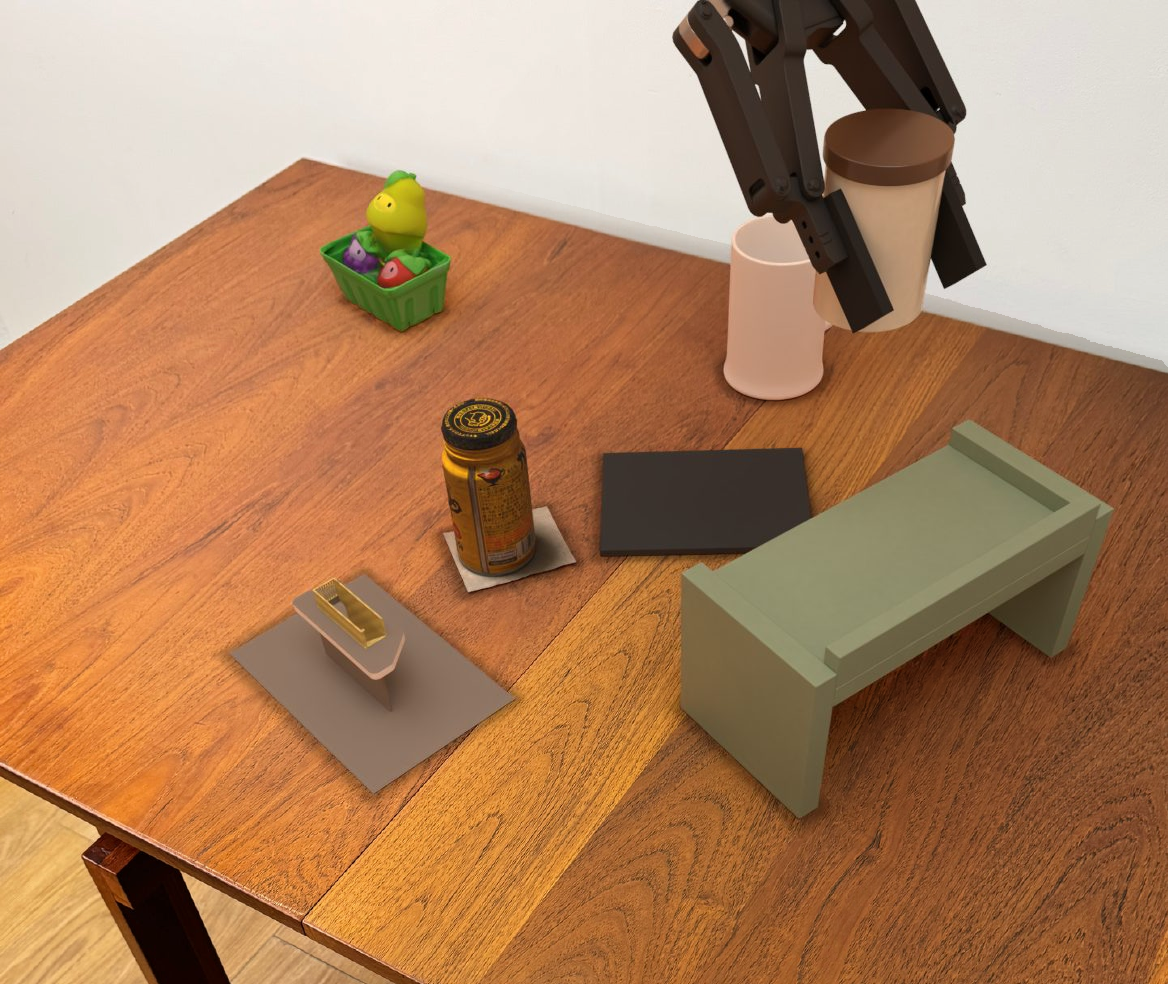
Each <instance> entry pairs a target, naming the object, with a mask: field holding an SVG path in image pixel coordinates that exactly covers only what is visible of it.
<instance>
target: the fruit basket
mask: <svg viewBox="0 0 1168 984" xmlns="http://www.w3.org/2000/svg"><path fill="white" fill-rule="evenodd" d="M416 179H417V175H416V174H415V173H413V172H409V173H407V172H406V171H405V170H402V169H398V170H394V171H393V172H391V173H390V174H389V176H388V177H387V179H386V181H385V183H384V185H383V190H381V191H380V192H379V193H378V194H377V195H375V196H374V197H373V199H372V200H371V201H370V203H369V205H368V206H367V208H366V212H365V217H366V220H367V222H368V224H369V225H367V226H365V227H362V228H360V229H357V230H354V231H353V232H350V233H348V234H345V235H343V236H341V237H339V238H337V239H335V240H331V241H330V242H328V243H327V244H325V245H323V246H321V247H320V248H319V250H318V251H319V254H320V256H321V257H322V259H323V261H324V262H325V263H326V264H327V266H328V267H329V270H330V271H331V273H332V275H333V277H334V279H335V281H336V283H337V285H338V286H339V288H340V290H341V293H342V294H343V296H344V299H345V300H347V301H348V302H350V303H352V304H353V305H357V306H358V307H359V308H360V309H362V310H363V311H364V312H367V313H368V314H371V315H374V317H375V318H377V319H379V320H380V321H382V322H383V323H386V324H389V325H390V326H391V327H392V328H393V329H395V330H396V331H398V332H400V333H401V332H404V331H406V330H407V329H408V328H409V327H412V326H415V325H418V324H420V323H421V322H424V321H425V320H428V319H430V318H431V317H432V316H433V315H434V314H438V313H441V312H443V310H444V305H445V296H446V288H447V280H448V272H449V271H450V266H451V261H452V257H451V255H449V254H447V253H445V252H443V251H441V250H439V249H437V248H436V247H434V246H432V245H431V244H428V243H427V242H426V241H424V239H425V237H426V234H427V230H428V215H427V211H426V193H425V190H424V188H423V187H422V186H421V184H420V183H419V182H418V181H417V180H416Z"/></svg>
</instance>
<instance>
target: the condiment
mask: <svg viewBox="0 0 1168 984" xmlns="http://www.w3.org/2000/svg"><path fill="white" fill-rule="evenodd" d="M440 432H441V434H442V439H443V441H442V443H443V450H442V453H441V463H442V464H441V468H442V471H443V477H444V483H445V488H446V489H445V490H446V494H447V499H448V500H447V502H448V503H447V504H448V506H449V511H450V517H451V523H452V525H451V526H452V531H449V532H443V533H442V534H443V536H444V539H445V541H446V544H447V546H448V548H449V551H450V553H451V556H452V558H453V561H454V563H455V565H456V568H457V571H458V573H459V575H460V577H461V579H462V581H463V584H464V586H465V588H466V591H467V593H471V592H474V591H479V590H481V589H486V588H491V587H495V586H497V585H503V584H506V583H510V582H512V581H516V580H517V581H518V580H519V579H522V578H526V577H528V576H530V575H533V574H539V573H543V572H547V571H551V570H555V569H557V568H560V567H562V566H565V565H571V564H574V563H577V560H576V558H575V557H574V555H573V554H572V552H571V549H570V548H569V546H568V544H567V543H566V541H565V539H564V537H563V535H562V533H561V532H560V530H559V528H558V525H557V524H556V521H555V520H554V518H553V516H552V513H551V512H550V509H549V508H548V506H547V505H546V506H543V507H537V508H533V505H532V494H531V485H530V476H529V467H528V457H527V450H526V446H525V444H524V441H522V439H521V435H520V431H519V429H518V419H517V416H516V413H515V412H514V410H513V408H512V407H511V406H510V405H509V404H508V403H506V402H503V401H501V400H498V399H494V398H490V397H489V398H487V397H479V398H477V397H476V398H470V399H466V400H464V401H462V402H458V403H457V404H455V405H454V406H453V407H450V408H449V409H448V410H447V411H446V412H445V414H444V415H443V418H442V421H441V426H440Z"/></svg>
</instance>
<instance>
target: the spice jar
mask: <svg viewBox="0 0 1168 984" xmlns="http://www.w3.org/2000/svg"><path fill="white" fill-rule="evenodd" d="M955 141H956V138H955V134H954V133H953V131H952V130H951V129H950V127H949V126H948V125H946V124H945V123H944V122H942V121H941V120H939V119H937V118H935V117H933V116H930V115H927V114H924V113H920V112H916V111H911V110H903V109H872V110H865V109H864V110H860V111H856V112H852V113H849V114H846V115H844V116H842V117H840V118H838V119H836V120H834V121H833V122H832V123H831V124H830V125H829V126H828V127H827V128H826V130H825V132H824V136H823V145H822V159H823V162H824V164H825V167H824V175H823V177H824V183H825V190H824V193H823V194H822V195H823V197H824V198H825V197H826V196H827V195H828V194H830V193H832V192H834V191H836V190H838V189H842V191H843V193H844V196H845V198H846V200H847V202H848V205H849V207H850V209H851V212H852V214H853V216H854V219H855V221H856V223H857V225H858V228H859V230H860V232H861V235H862V237H863V239H864V242H865V244H866V246H867V249H868V251H869V253H870V255H871V258H872V260H873V262H874V265H875V267H876V269H877V272H878V274H879V276H880V279H881V281H882V283H883V285H884V288H885V290H886V292H887V295H888V297H889V299H890V302H891V304H892V306H893V309H894V311H892V312H890V313H889V314H887V315H885V316H884V317H882V318H880V319H879V320H877V321H875V322H874V323H872V324H870V325H869V326H867V327H865V328H864V329H862V330H860V331H857V332H859V333H881V332H882V333H883V332H889V331H893V330H898V329H900V328H903V327H905V326H907V325H909V324H911V323H912V322H913V321H915V320H916V319H917V318H918V317H919V316H920V314H921V313H922V310H923V306H924V300H925V296H926V290H927V283H928V278H929V271H930V265H931V261H932V260H931V254H932V248H933V242H934V237H935V231H936V225H937V219H938V213H939V207H940V201H941V195H942V189H943V183H944V177H945V172H946V169H947V168H948V166H949V165H950V163H951V161H952V160H953V155H954V148H955V143H956V142H955ZM813 306H814V309H815V311H816V312H817V314H818V315H819V316H820V317H821V318H822V319H824V320H825V321H827V322H828V323H830V324H832V325H833V326H835V327H837V328H839V329H842V330H846V331H851V332H852V330H851V328H850V326H849V323H848V321H847V319H846V317H845V314H844V312H843V310H842V308H841V305H840V303H839V301H838V298H837V296H836V294H835V292H834V289H833V287H832V285H831V283H830V280H829V278H828V276H827V273H826V272H824V273H822V274H819V273H818V272H817V271H815V281H814V292H813ZM857 332H856V333H857Z"/></svg>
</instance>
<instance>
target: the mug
mask: <svg viewBox="0 0 1168 984" xmlns="http://www.w3.org/2000/svg"><path fill="white" fill-rule="evenodd" d="M729 269H730V270H729V290H728V291H729V294H728V296H729V297H728V320H727V342H726V343H727V344H726V345H727V346H726V355H725V357H726V358H725V361H724V364H723V375H724V378H725V380H726V382H727V383H728V385H729V386H730V387H732V389H733V390H735V391H737V392H739V393H740V394H742V395H743V396H746V397H747V396H748V397H750V398H753V399H754V398H755V399H758V400H765V401H782V400H783V401H784V400H789V399H790V400H791V399H794V398H798V397H801V396H803V395H805V394H808V393H810V392H811V391H813V390H814V389H815V388H816V387H817V386H818V385H819V384H820V382H821V381H822V379H823V376H824V363H823V351H824V342H825V341H824V340H825V331H827V330H829V329H831V328H832V327H833V326H834V325H832V324H830V323H828V322H827V321H825V320H824V319H822V318H821V317H820V316H819V315H818V314H817V312H816V311H815V309H814V306H813V292H814V281H815V271H816V270H815V269H814V268H813V266H812V264H811V262H810V259H809V256H808V255H807V253H806V250H805V248H804V246H803V244H802V241H801V239H800V237H799V234H798V232H797V230H796V228H795V225H794V223H793V222H792V220H790V221H789V222H788V223H786V224H781V223H779V222H777V221H776V220H775V218H774V217H773V214H769V215H768V214H766V215H764V216H762V217H755V218H752V219H750V220H748V221H746V222H744V223H742V224H741V225H739V226H738V227H737V228H736V229H735V230H734V232H733V233H732V236H731V242H730V268H729Z"/></svg>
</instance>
